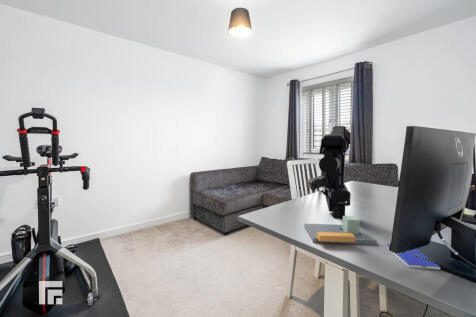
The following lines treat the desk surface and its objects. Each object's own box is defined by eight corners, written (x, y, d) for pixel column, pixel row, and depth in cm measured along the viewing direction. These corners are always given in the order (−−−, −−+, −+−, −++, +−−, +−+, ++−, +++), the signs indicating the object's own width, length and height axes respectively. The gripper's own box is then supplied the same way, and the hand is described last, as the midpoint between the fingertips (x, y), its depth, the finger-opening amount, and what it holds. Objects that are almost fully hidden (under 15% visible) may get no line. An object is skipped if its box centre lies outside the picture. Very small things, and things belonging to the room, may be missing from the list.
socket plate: (304, 227, 92) (304, 223, 92) (357, 228, 90) (357, 225, 90) (313, 242, 78) (313, 238, 78) (376, 244, 76) (376, 240, 76)
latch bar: (317, 237, 78) (317, 232, 78) (351, 238, 77) (351, 233, 77) (319, 241, 75) (319, 235, 75) (355, 242, 74) (355, 236, 74)
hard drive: (386, 243, 75) (409, 263, 62) (412, 245, 74) (440, 266, 61) (385, 248, 75) (408, 268, 63) (411, 249, 74) (440, 271, 61)
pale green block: (342, 233, 86) (342, 215, 85) (353, 233, 86) (354, 216, 85) (346, 237, 82) (347, 219, 81) (358, 238, 81) (359, 220, 81)
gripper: (303, 166, 88) (302, 203, 90) (316, 173, 70) (315, 220, 71) (331, 166, 87) (330, 203, 89) (352, 174, 69) (350, 221, 70)
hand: (330, 211), depth 80 cm, fingers closed
